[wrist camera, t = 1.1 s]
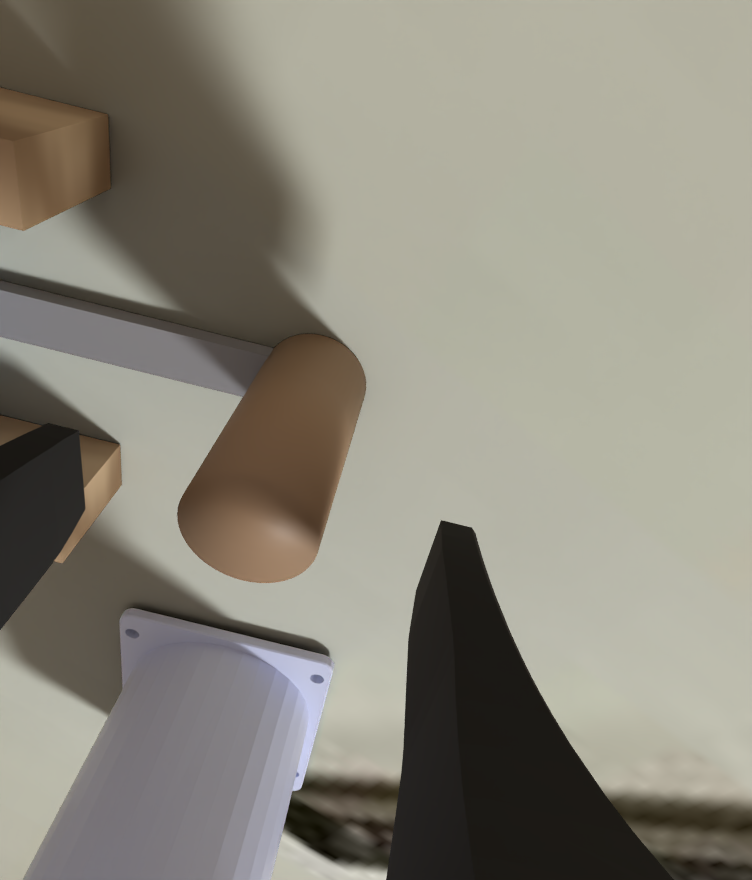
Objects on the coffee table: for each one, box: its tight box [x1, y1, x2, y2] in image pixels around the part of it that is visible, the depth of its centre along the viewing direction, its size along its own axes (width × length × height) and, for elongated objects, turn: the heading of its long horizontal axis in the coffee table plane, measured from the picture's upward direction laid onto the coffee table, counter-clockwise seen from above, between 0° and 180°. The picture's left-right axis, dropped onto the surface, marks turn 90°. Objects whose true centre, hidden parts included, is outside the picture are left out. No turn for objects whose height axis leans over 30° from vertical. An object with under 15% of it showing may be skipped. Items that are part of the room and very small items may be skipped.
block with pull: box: [0, 280, 366, 583], centre depth 15 cm, size 5×16×6 cm, turn 79°
